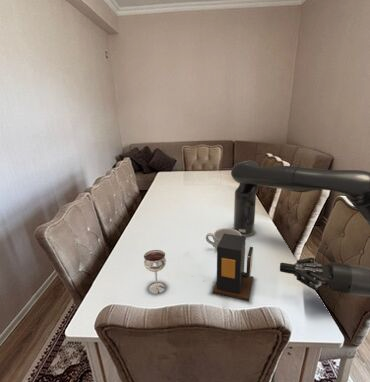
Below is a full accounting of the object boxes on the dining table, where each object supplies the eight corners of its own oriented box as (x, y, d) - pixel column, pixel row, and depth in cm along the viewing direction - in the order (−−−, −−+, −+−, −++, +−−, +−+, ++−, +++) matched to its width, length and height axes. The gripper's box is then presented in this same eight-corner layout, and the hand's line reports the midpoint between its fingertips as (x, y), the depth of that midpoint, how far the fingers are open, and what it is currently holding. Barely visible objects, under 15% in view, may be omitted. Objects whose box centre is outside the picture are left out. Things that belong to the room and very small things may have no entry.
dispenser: (220, 273, 87) (221, 231, 82) (253, 279, 83) (256, 236, 78) (212, 293, 77) (212, 247, 72) (248, 301, 73) (251, 254, 69)
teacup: (243, 248, 103) (244, 230, 100) (237, 262, 93) (237, 242, 91) (211, 242, 108) (211, 225, 106) (202, 254, 99) (202, 236, 97)
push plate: (248, 266, 79) (249, 246, 77) (252, 266, 79) (253, 247, 77) (246, 277, 74) (247, 256, 72) (249, 277, 74) (250, 257, 72)
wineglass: (149, 298, 76) (146, 263, 73) (144, 285, 82) (141, 252, 79) (170, 291, 79) (168, 258, 75) (163, 279, 85) (161, 247, 81)
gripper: (346, 253, 71) (281, 244, 77) (358, 281, 59) (280, 268, 66) (342, 276, 73) (279, 265, 79) (352, 307, 62) (278, 292, 68)
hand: (280, 266), depth 72 cm, fingers closed
